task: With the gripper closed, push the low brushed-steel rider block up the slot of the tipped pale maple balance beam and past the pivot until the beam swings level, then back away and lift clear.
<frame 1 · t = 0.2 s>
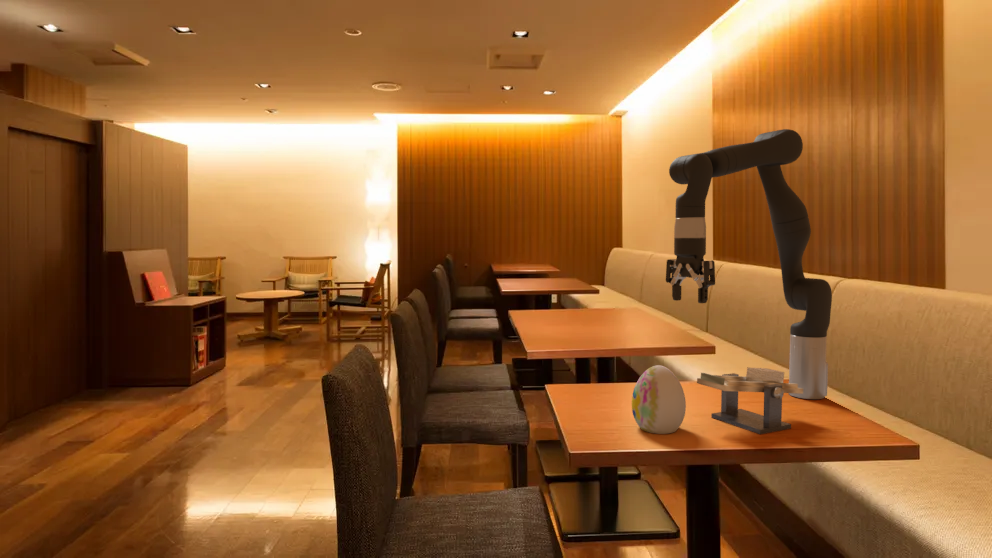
hand: (689, 301, 156), 29 cm above the table, tool pointing down, fingers open, 8 cm apart
stand: (750, 422, 151), on the table
rider: (764, 384, 153), point 9 cm above the table, tilted 8°, touching beam
decorative egg: (658, 429, 147), on the table
beam: (751, 383, 151), point 10 cm above the table, hinge at -7.6°, touching rider
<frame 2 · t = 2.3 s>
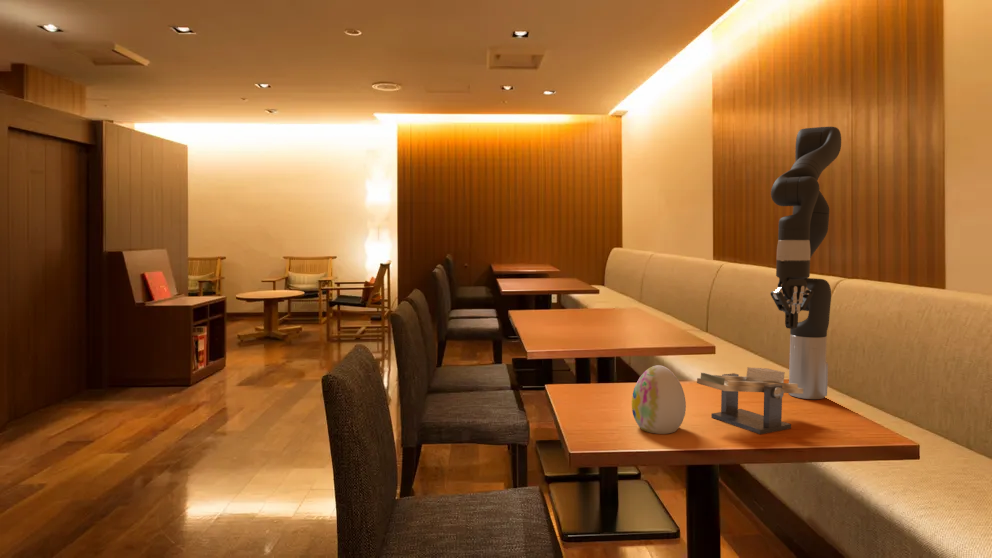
hand: (791, 328, 156), 22 cm above the table, tool pointing down, fingers closed
nothing on the table moved.
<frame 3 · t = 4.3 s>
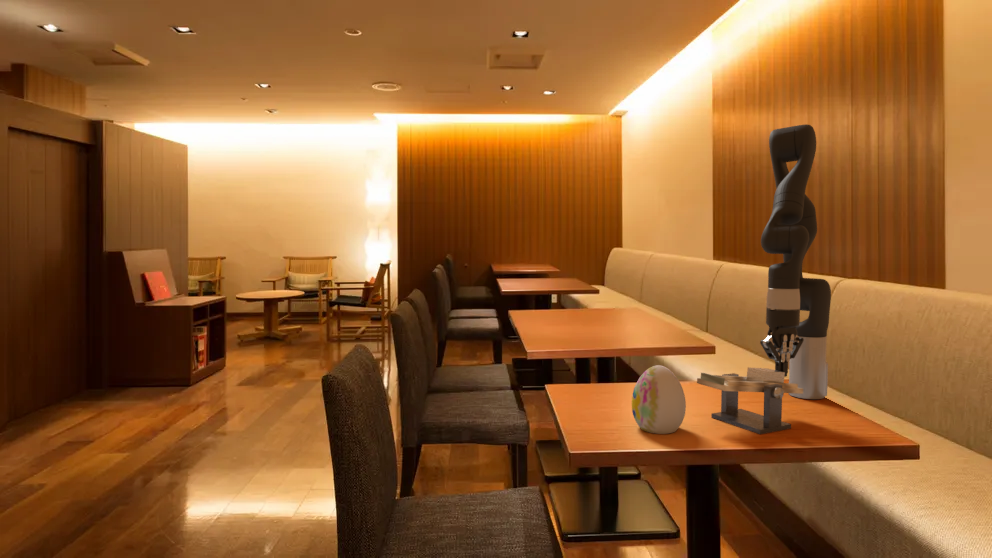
hand: (781, 376, 155), 10 cm above the table, tool pointing down, fingers closed
rider: (764, 384, 153), point 9 cm above the table, tilted 8°, touching beam, gripper
everything else where it was.
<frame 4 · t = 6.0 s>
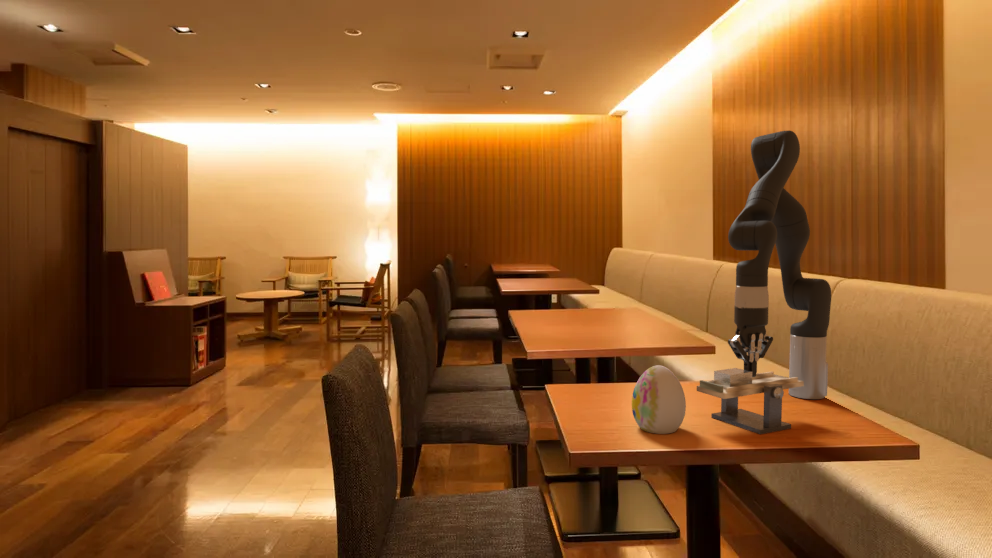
hand: (750, 376, 151), 11 cm above the table, tool pointing down, fingers closed
rider: (732, 385, 149), point 10 cm above the table, touching beam, gripper
beam: (750, 383, 151), point 10 cm above the table, hinge at 0.6°, touching rider
everything else where it was.
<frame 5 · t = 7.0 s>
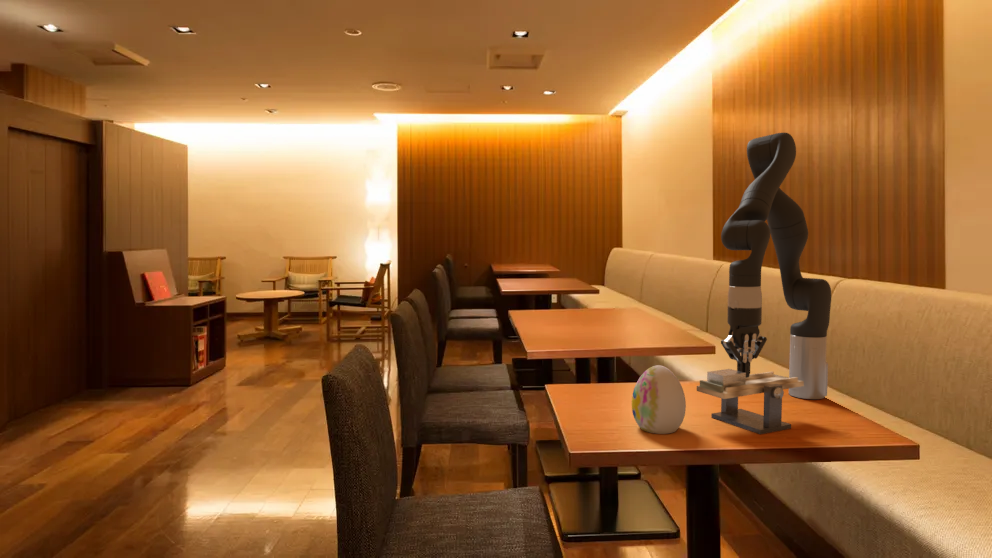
hand: (743, 377, 150), 11 cm above the table, tool pointing down, fingers closed
rider: (726, 386, 148), point 10 cm above the table, touching beam, gripper
everything else where it was.
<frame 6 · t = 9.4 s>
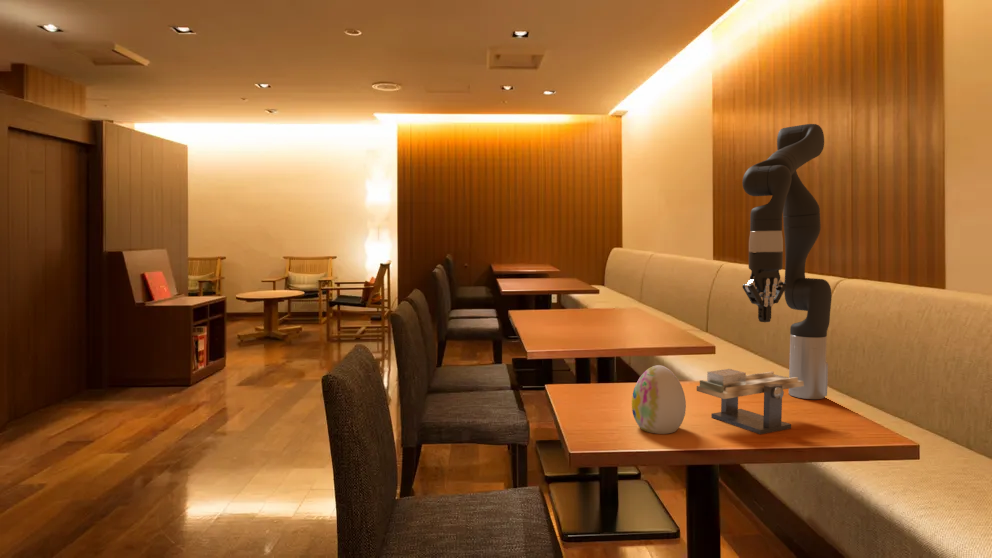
hand: (764, 321, 152), 24 cm above the table, tool pointing down, fingers closed
rider: (726, 386, 148), point 10 cm above the table, touching beam
everything else where it was.
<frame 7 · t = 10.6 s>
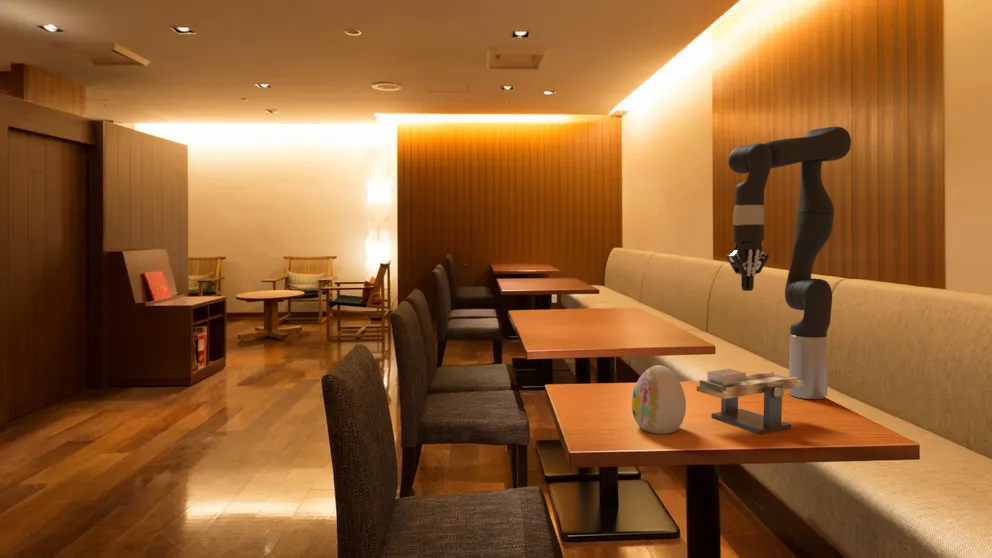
hand: (747, 290, 162), 31 cm above the table, tool pointing down, fingers closed
nothing on the table moved.
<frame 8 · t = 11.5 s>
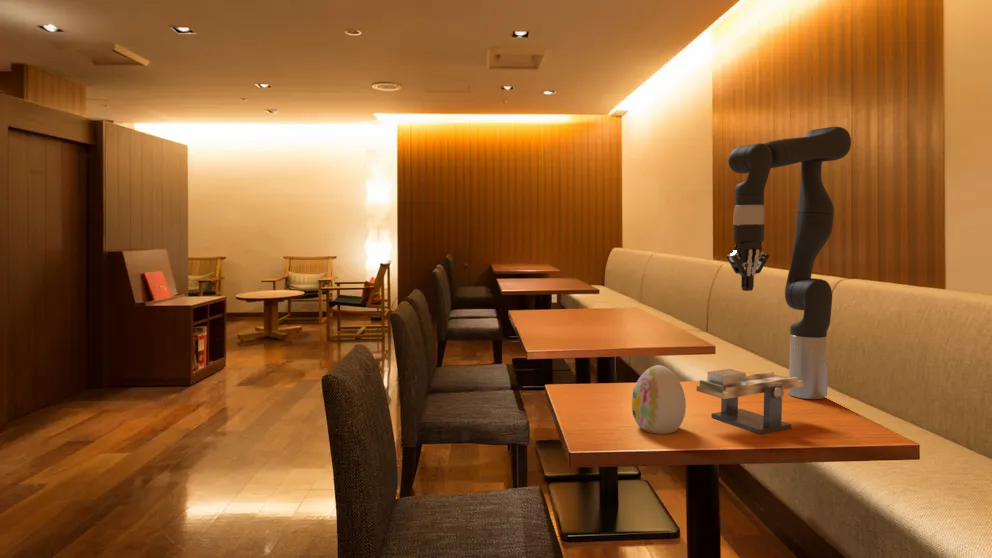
hand: (747, 290, 162), 31 cm above the table, tool pointing down, fingers closed
nothing on the table moved.
at the end: beam at +1° (first picture: -8°); rider 0.3 cm from the target spot, point 9.5 cm above the table; rider touching beam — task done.
